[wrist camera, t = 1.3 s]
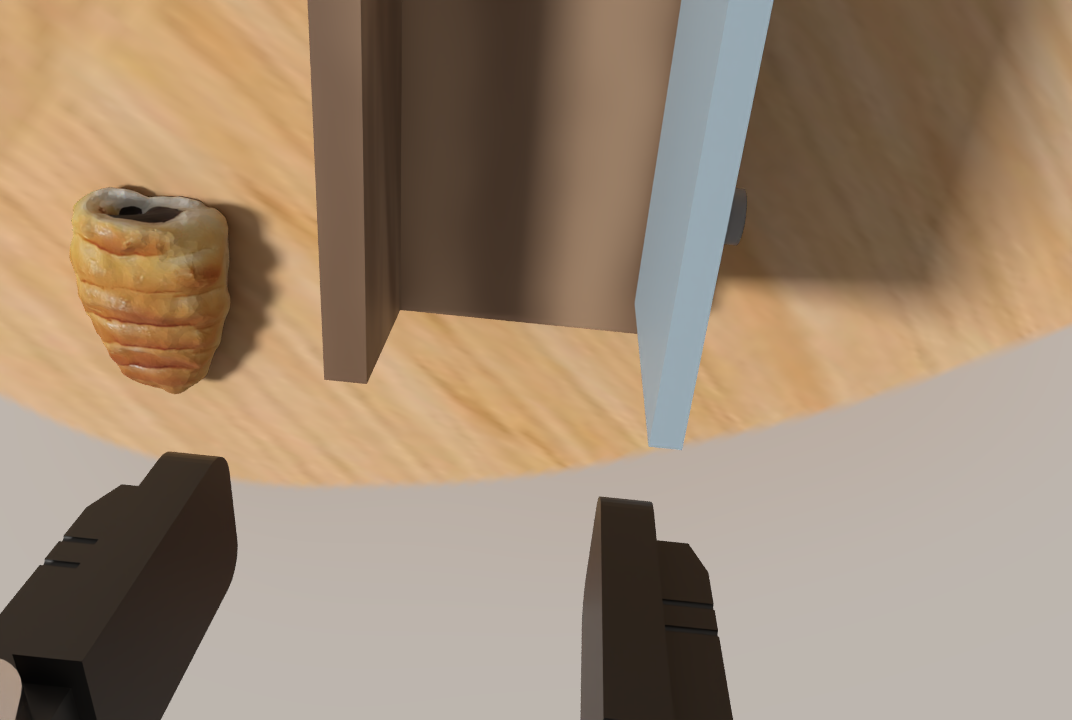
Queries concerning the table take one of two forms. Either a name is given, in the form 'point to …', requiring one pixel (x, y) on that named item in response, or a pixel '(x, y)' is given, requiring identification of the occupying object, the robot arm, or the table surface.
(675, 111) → the light blue flat panel
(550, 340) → the table surface
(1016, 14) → the table surface
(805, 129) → the table surface
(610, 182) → the brown wooden l-shaped piece
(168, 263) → the pastry
